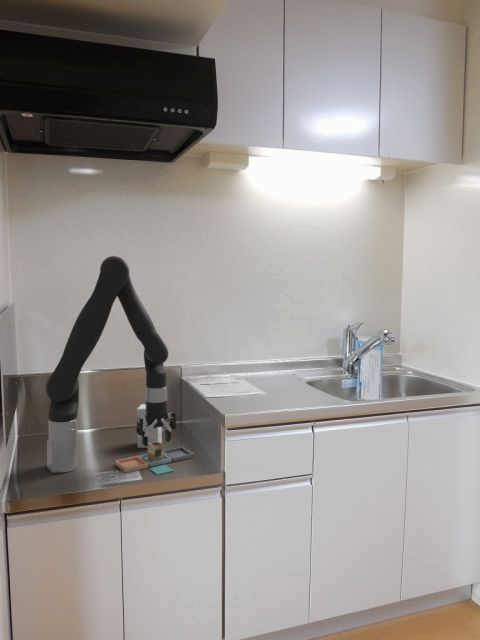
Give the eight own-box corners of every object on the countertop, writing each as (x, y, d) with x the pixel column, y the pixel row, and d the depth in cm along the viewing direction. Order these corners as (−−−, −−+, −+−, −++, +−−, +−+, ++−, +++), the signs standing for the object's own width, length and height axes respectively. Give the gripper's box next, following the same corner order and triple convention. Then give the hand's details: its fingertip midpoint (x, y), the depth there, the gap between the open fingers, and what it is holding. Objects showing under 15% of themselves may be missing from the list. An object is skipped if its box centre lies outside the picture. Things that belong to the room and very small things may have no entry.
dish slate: (149, 467, 180) (149, 463, 179) (139, 459, 186) (139, 455, 186) (171, 462, 185) (171, 458, 184) (160, 454, 191) (160, 451, 191)
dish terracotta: (125, 473, 174) (125, 468, 174) (115, 464, 181) (115, 460, 181) (148, 467, 179) (148, 463, 179) (137, 459, 186) (137, 455, 186)
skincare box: (162, 443, 203) (162, 404, 202) (157, 449, 197) (158, 409, 195) (141, 442, 204) (141, 403, 202) (136, 448, 198) (136, 408, 196)
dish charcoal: (172, 462, 185) (173, 458, 185) (161, 454, 192) (161, 450, 192) (193, 457, 190) (193, 453, 190) (182, 450, 197) (182, 446, 196)
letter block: (152, 463, 183) (153, 446, 182) (147, 459, 186) (147, 442, 185) (163, 460, 185) (163, 444, 184) (157, 457, 188) (158, 440, 188)
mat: (157, 475, 173) (157, 474, 173) (149, 469, 178) (149, 468, 178) (173, 471, 177) (173, 470, 177) (165, 465, 182) (165, 464, 182)
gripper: (142, 404, 175) (142, 450, 177) (179, 398, 184) (179, 442, 186) (133, 399, 182) (133, 444, 183) (169, 393, 190) (169, 436, 192)
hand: (156, 443), depth 185 cm, fingers open, 8 cm apart
